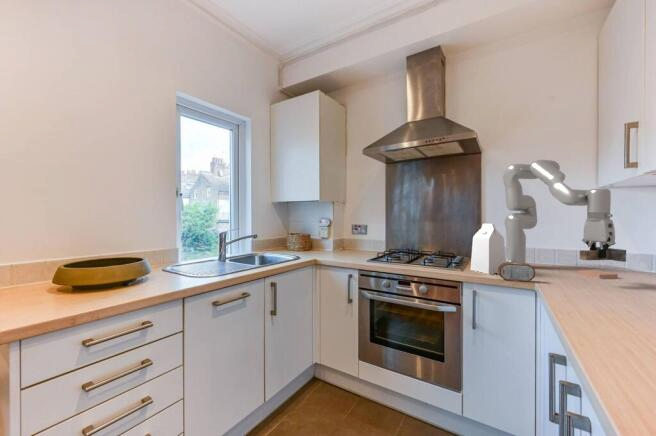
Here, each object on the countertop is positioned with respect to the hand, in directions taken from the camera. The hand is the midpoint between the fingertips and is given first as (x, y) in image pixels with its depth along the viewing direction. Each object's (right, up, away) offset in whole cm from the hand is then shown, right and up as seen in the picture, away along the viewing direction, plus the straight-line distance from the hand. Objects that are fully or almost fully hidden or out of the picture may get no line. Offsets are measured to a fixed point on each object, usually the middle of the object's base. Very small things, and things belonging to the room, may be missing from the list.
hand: (597, 257), depth 127 cm
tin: (-32, -12, +7) cm, 35 cm away
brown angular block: (-1, -1, 0) cm, 2 cm away
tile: (+11, -11, +16) cm, 22 cm away
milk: (-34, -12, +27) cm, 45 cm away
